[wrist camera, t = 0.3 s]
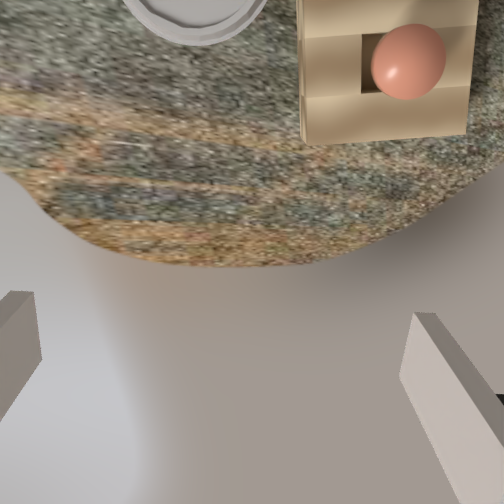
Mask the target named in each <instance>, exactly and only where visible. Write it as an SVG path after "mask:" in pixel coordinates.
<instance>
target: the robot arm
mask: <svg viewBox="0 0 504 504" xmlns="http://www.w3.org/2000/svg"><path fill="white" fill-rule="evenodd" d="M41 360H42V356H41V348H40V340H39V332H38V324H37V316H36V308H35V300H34V292H26V291H10V292H9V293H8V294H7V295H6V296H5V297H4V298H3V299H2V300H1V301H0V421H1V420H2V418H3V417H4V415H5V414H6V412H7V411H8V409H9V408H10V406H11V405H12V403H13V402H14V400H15V399H16V397H17V396H18V394H19V393H20V391H21V390H22V388H23V387H24V385H25V384H26V382H27V381H28V380H29V378H30V377H31V375H32V374H33V372H34V370H35V369H36V367H37V366H38V365H39V363H40V362H41ZM399 378H400V380H401V382H402V384H403V386H404V388H405V390H406V392H407V394H408V397H409V399H410V400H411V402H412V405H413V407H414V409H415V411H416V413H417V415H418V417H419V419H420V421H421V423H422V425H423V427H424V430H425V432H426V434H427V436H428V438H429V440H430V442H431V444H432V446H433V448H434V450H435V452H436V455H437V457H438V459H439V461H440V463H441V465H442V467H443V469H444V471H445V473H446V475H447V477H448V479H449V481H450V483H451V486H452V488H453V490H454V492H455V494H456V496H457V498H458V500H459V502H460V504H504V394H495V393H494V392H493V390H492V389H491V388H490V387H489V385H488V384H487V382H486V381H485V380H484V378H483V377H482V376H481V375H480V373H479V372H478V370H477V369H476V368H475V366H474V365H473V364H472V362H471V361H470V360H469V358H468V357H467V356H466V354H465V353H464V351H463V350H462V349H461V348H460V346H459V345H458V343H457V342H456V341H455V339H454V338H453V337H452V336H451V334H450V333H449V331H448V330H447V329H446V327H445V326H444V325H443V323H442V322H441V321H440V319H439V318H438V316H437V315H436V314H435V313H420V312H414V313H413V317H412V322H411V326H410V331H409V335H408V339H407V344H406V348H405V352H404V357H403V361H402V365H401V370H400V374H399Z"/></svg>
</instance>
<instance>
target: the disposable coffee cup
mask: <svg viewBox="0 0 504 504" xmlns="http://www.w3.org/2000/svg"><path fill="white" fill-rule="evenodd" d="M123 1H124V3H125V4H126V5H127V7H128V8H129V9H130V11H131V12H132V14H133V15H134V16H135V17H136V18H137V19H138V20H139V21H140V22H141V23H142V24H143V25H144V26H146V27H147V28H148V29H149V30H151V31H152V32H154V33H155V34H157V35H159V36H161V37H163V38H165V39H167V40H169V41H171V42H175V43H179V44H183V45H191V46H203V45H211V44H215V43H219V42H222V41H225V40H227V39H229V38H231V37H233V36H234V35H236V34H238V33H239V32H241V31H242V30H243V29H244V28H246V27H247V26H248V25H249V24H250V23H251V22H252V21H253V20H254V19H255V17H256V16H257V15H258V14H259V13H260V11H261V10H262V8H263V6H264V5H265V3H266V1H267V0H123Z"/></svg>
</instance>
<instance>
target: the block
mask: <svg viewBox="0 0 504 504" xmlns="http://www.w3.org/2000/svg"><path fill="white" fill-rule="evenodd" d="M478 4H479V0H296V8H297V40H298V72H299V103H300V135H301V137H302V139H303V140H304V142H305V143H306V144H307V146H315V145H328V144H342V143H355V142H368V141H382V140H395V139H408V138H422V137H435V136H449V135H462V134H466V124H467V114H468V104H469V94H470V84H471V74H472V64H473V54H474V44H475V34H476V24H477V14H478ZM408 24H423V25H426V26H428V27H430V28H432V29H433V30H435V31H436V32H437V33H438V34H439V36H440V37H441V39H442V41H443V43H444V45H445V49H446V65H445V69H444V72H443V74H442V76H441V78H440V80H439V81H438V83H437V84H436V85H435V86H434V88H432V89H431V90H430V91H429V92H428V93H426V94H425V95H423V96H421V97H418V98H415V99H410V100H403V99H397V98H394V97H390V96H388V95H386V94H384V93H383V92H382V91H381V90H380V89H379V88H378V87H377V86H376V84H375V82H374V80H373V78H372V74H371V58H372V54H373V51H374V49H375V47H376V45H377V44H378V42H379V41H380V39H381V38H382V37H383V36H384V35H385V34H386V33H388V32H389V31H391V30H392V29H394V28H397V27H400V26H403V25H408Z"/></svg>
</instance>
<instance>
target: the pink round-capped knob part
mask: <svg viewBox="0 0 504 504" xmlns="http://www.w3.org/2000/svg"><path fill="white" fill-rule="evenodd" d="M445 65H446V49H445V45H444V43H443V41H442V39H441V37H440V36H439V34H438V33H437V32H436V31H435V30H433V29H432V28H430V27H428V26H426V25H423V24H408V25H403V26H400V27H397V28H394V29H392V30H391V31H389V32H388V33H386V34H385V35H384V36H383V37H382V38H381V39H380V41H379V42H378V44H377V45H376V47H375V49H374V51H373V54H372V58H371V74H372V78H373V80H374V82H375V84H376V86H377V87H378V88H379V89H380V90H381V91H382V92H383V93H384V94H386V95H388V96H390V97H394V98H397V99H403V100H410V99H415V98H418V97H421V96H423V95H425V94H426V93H428V92H429V91H430V90H431V89H432V88H434V86H435V85H436V84H437V83H438V81H439V80H440V78H441V76H442V74H443V72H444V69H445Z"/></svg>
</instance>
